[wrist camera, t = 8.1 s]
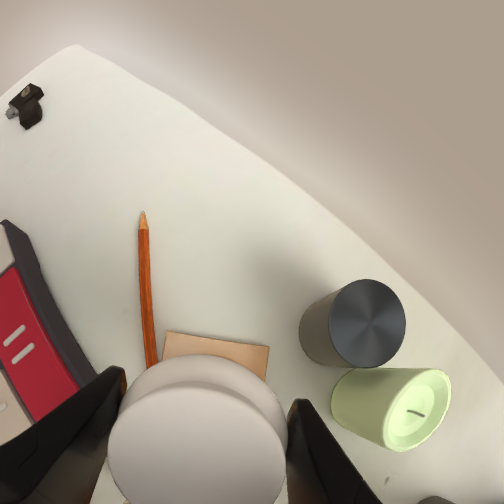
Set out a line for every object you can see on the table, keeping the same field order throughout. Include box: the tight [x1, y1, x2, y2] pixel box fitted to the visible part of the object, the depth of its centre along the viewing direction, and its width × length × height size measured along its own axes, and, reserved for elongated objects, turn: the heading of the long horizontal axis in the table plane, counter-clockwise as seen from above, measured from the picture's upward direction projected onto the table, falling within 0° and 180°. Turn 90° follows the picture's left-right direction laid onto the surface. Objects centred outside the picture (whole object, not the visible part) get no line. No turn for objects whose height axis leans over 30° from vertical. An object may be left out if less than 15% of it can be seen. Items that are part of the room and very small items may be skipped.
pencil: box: [138, 210, 158, 369], centre depth 19 cm, size 1×18×1 cm, turn 9°
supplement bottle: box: [108, 354, 288, 504], centre depth 9 cm, size 5×5×10 cm
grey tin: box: [299, 279, 406, 369], centre depth 18 cm, size 5×5×6 cm
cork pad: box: [162, 331, 269, 383], centre depth 18 cm, size 8×7×1 cm
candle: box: [331, 368, 451, 452], centre depth 15 cm, size 5×5×8 cm
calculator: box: [0, 219, 98, 445], centre depth 15 cm, size 11×4×15 cm
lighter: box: [5, 83, 44, 130], centre depth 24 cm, size 8×2×5 cm
